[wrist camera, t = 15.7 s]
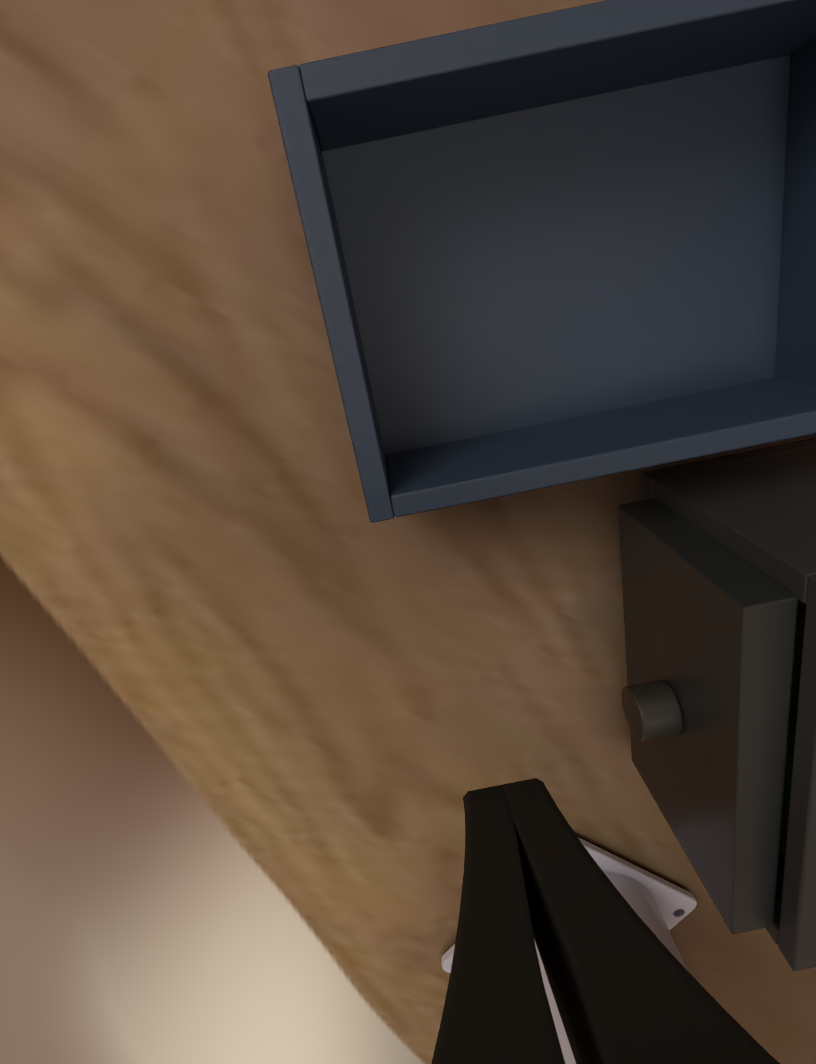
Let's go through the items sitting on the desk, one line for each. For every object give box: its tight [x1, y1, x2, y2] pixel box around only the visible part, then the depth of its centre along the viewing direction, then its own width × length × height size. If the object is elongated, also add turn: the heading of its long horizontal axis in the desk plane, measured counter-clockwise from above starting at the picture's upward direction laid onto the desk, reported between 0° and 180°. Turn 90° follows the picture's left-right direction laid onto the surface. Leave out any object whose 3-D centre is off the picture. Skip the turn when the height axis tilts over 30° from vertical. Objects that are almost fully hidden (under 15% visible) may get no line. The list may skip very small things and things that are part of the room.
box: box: [268, 0, 816, 522], centre depth 15 cm, size 13×9×5 cm
